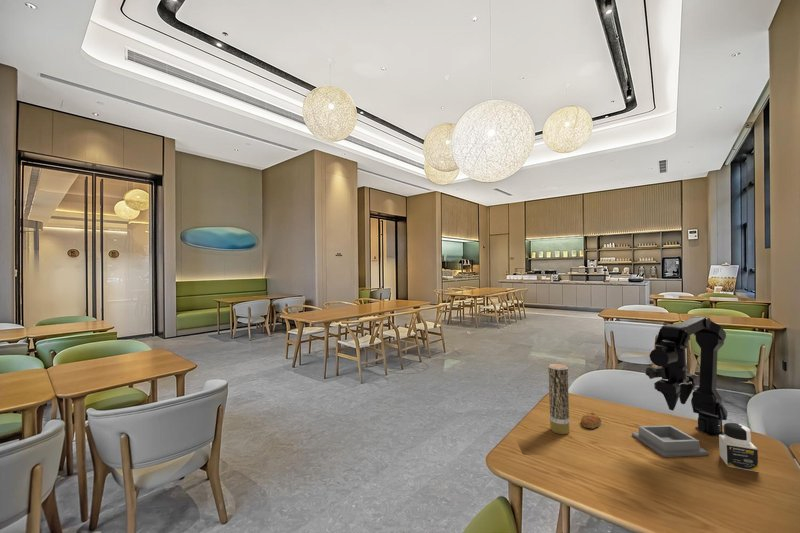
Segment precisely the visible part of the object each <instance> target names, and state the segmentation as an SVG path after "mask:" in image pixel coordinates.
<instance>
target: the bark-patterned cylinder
mask: <svg viewBox="0 0 800 533" xmlns="http://www.w3.org/2000/svg"><path fill="white" fill-rule="evenodd" d="M568 370H569V368H568V365H566V364H562V363H550V364H548V392H549V394H548V396H549V421H550V423H549V426H550V431H552V432H553V433H555V434H557V433H558V435H567V434H569V433H570V400H569V371H568Z"/></svg>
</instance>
